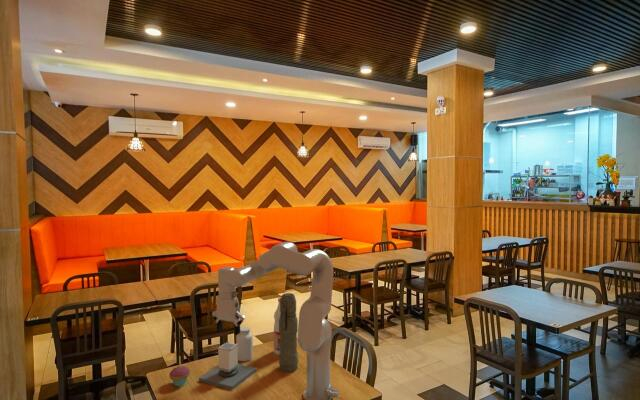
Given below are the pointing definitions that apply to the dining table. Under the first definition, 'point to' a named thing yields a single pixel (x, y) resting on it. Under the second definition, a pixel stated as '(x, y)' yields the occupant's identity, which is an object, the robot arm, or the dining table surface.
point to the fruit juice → (277, 330)
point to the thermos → (288, 333)
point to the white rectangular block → (228, 356)
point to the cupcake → (179, 374)
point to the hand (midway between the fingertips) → (228, 332)
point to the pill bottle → (244, 344)
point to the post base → (227, 376)
